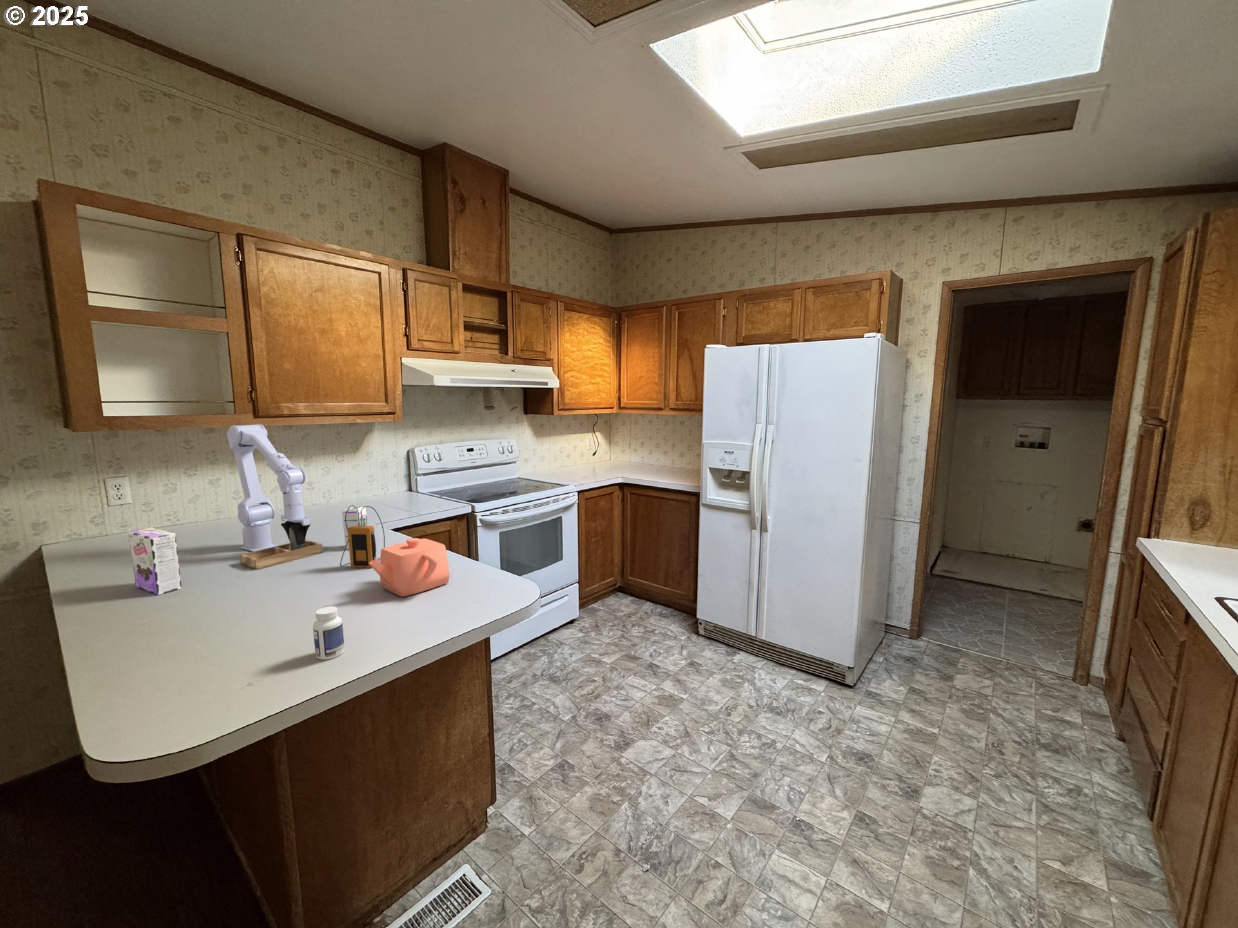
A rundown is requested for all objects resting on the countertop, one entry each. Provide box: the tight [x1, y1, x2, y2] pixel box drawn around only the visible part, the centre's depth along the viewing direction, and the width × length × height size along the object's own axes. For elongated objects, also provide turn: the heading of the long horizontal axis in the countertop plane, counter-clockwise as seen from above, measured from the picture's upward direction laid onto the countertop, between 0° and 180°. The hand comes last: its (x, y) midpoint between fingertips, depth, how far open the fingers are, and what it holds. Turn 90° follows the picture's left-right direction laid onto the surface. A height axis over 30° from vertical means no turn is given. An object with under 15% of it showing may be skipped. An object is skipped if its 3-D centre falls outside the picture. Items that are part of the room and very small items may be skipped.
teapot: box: [369, 537, 450, 598], centre depth 144 cm, size 20×22×14 cm
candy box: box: [128, 527, 183, 596], centre depth 146 cm, size 14×6×16 cm, turn 62°
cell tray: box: [239, 539, 323, 570], centre depth 172 cm, size 11×20×3 cm, turn 148°
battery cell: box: [289, 527, 304, 551], centre depth 176 cm, size 4×4×9 cm
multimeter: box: [339, 505, 386, 569], centre depth 166 cm, size 15×10×20 cm
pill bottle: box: [312, 606, 345, 661], centre depth 108 cm, size 5×5×10 cm
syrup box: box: [341, 505, 368, 551], centre depth 183 cm, size 6×6×14 cm
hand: (297, 543), depth 176 cm, fingers closed on battery cell, 4 cm apart
